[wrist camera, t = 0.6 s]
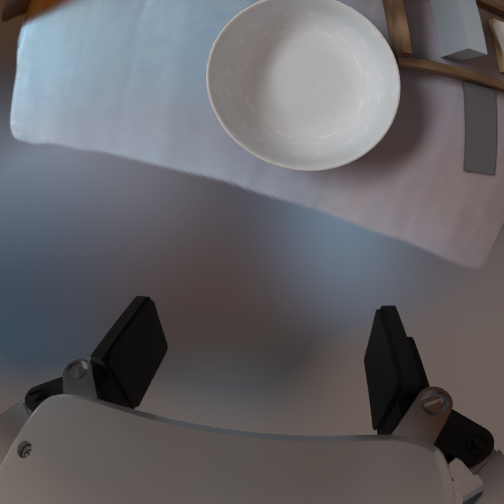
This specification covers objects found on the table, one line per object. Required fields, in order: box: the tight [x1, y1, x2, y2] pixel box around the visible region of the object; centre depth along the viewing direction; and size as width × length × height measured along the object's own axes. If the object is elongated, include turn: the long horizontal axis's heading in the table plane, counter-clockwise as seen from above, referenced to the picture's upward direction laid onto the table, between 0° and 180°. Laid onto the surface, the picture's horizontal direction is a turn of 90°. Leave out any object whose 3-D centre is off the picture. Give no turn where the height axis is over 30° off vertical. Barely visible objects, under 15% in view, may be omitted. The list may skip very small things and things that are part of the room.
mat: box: [463, 82, 497, 175], centre depth 28 cm, size 13×6×1 cm, turn 5°
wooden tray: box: [382, 0, 504, 92], centre depth 20 cm, size 15×26×4 cm, turn 95°
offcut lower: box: [488, 18, 504, 74], centre depth 20 cm, size 9×3×2 cm, turn 7°
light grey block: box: [430, 0, 487, 62], centre depth 19 cm, size 10×3×8 cm, turn 5°
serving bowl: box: [206, 0, 401, 171], centre depth 28 cm, size 21×21×7 cm
